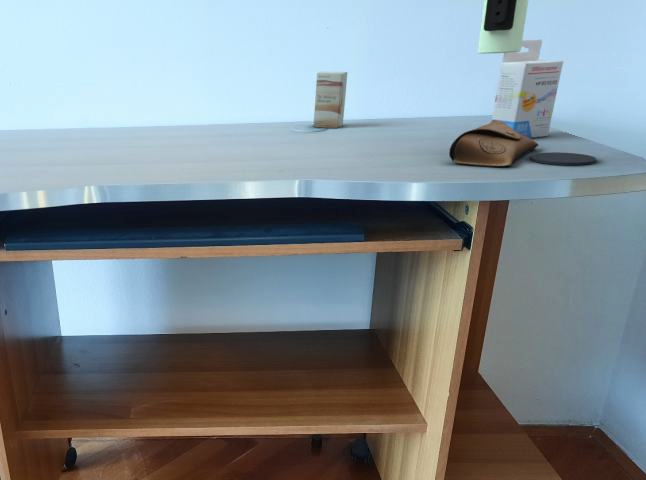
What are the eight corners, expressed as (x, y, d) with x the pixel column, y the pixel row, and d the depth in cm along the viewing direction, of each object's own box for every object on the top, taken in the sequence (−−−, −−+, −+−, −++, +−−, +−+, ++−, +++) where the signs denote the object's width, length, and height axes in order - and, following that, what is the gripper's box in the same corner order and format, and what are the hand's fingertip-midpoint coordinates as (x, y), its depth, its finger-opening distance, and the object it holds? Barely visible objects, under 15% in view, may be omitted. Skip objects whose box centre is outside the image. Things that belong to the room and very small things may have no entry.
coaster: (598, 157, 89) (599, 154, 89) (592, 167, 83) (593, 164, 83) (535, 153, 93) (535, 150, 93) (525, 163, 87) (525, 160, 87)
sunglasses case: (514, 164, 84) (494, 117, 83) (462, 187, 89) (442, 143, 88) (540, 144, 97) (523, 103, 96) (494, 165, 102) (477, 127, 101)
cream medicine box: (312, 127, 127) (315, 72, 122) (318, 124, 130) (321, 71, 126) (338, 128, 125) (342, 72, 120) (344, 125, 128) (347, 70, 124)
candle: (479, 54, 80) (488, -22, 76) (475, 53, 84) (484, -19, 81) (523, 52, 78) (535, -25, 75) (517, 51, 83) (528, -22, 79)
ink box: (512, 141, 104) (530, 40, 98) (487, 137, 108) (503, 41, 102) (549, 136, 107) (569, 38, 101) (524, 132, 111) (541, 39, 105)
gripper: (554, -173, 64) (523, 29, 72) (573, -142, 77) (545, 27, 84) (475, -157, 68) (453, 33, 76) (505, -131, 81) (484, 30, 88)
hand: (502, 28), depth 80 cm, fingers closed on candle, 4 cm apart
